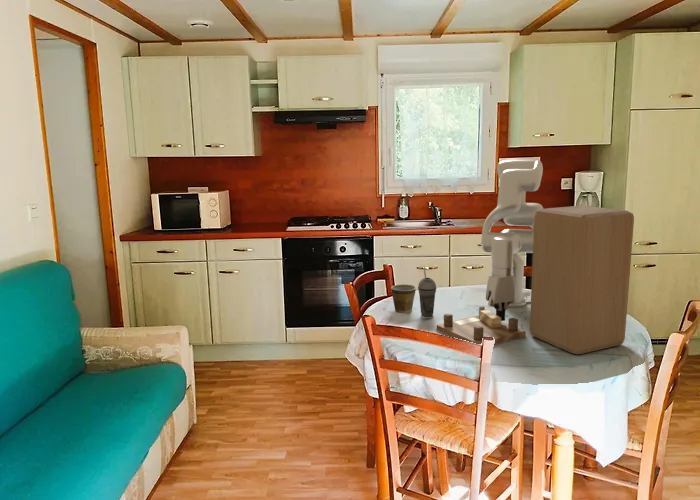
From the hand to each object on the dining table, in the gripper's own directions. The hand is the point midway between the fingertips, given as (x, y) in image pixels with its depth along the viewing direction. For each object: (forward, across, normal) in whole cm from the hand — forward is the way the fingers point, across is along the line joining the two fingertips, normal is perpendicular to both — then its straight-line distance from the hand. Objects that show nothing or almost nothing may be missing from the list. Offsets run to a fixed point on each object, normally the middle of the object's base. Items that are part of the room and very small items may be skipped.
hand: (500, 319), depth 198 cm
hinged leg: (+1, +3, -1) cm, 4 cm away
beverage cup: (+4, +15, -25) cm, 30 cm away
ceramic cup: (+4, +20, -37) cm, 42 cm away
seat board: (+3, +9, 0) cm, 10 cm away
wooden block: (+4, -14, +22) cm, 26 cm away
